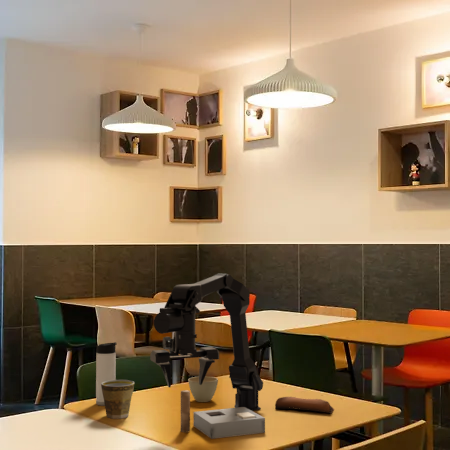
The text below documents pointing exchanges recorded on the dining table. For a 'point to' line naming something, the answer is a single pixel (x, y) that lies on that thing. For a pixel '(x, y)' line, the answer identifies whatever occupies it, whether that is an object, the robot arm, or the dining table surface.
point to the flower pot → (203, 388)
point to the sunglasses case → (303, 404)
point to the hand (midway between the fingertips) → (185, 385)
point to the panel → (228, 422)
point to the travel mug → (104, 368)
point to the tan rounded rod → (185, 411)
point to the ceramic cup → (117, 397)
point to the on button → (245, 415)
